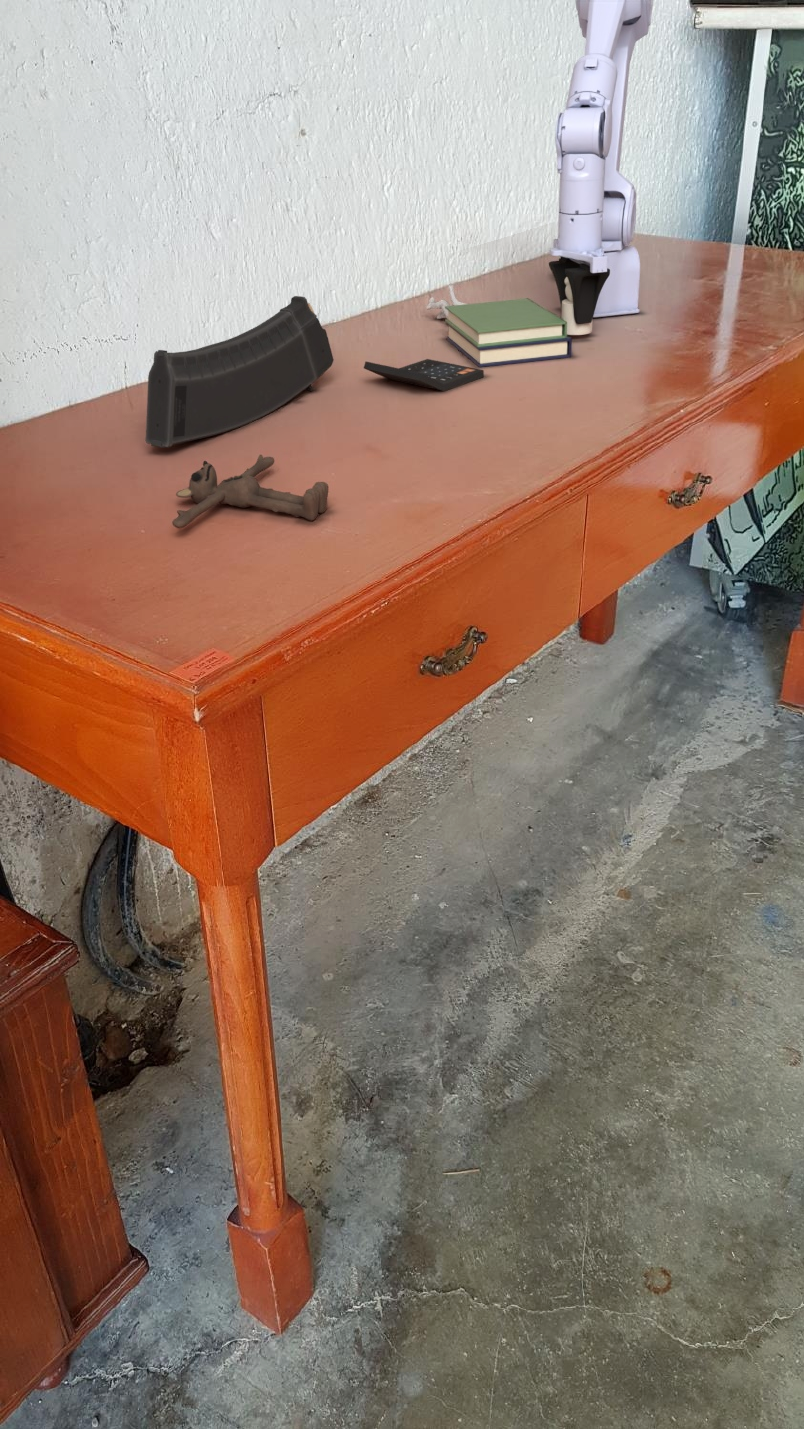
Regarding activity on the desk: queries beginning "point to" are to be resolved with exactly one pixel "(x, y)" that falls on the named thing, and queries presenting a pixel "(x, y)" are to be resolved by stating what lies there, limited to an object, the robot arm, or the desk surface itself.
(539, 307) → the book stack
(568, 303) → the toy bear
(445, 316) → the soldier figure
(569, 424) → the desk surface
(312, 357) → the magazine
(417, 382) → the calculator
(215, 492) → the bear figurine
